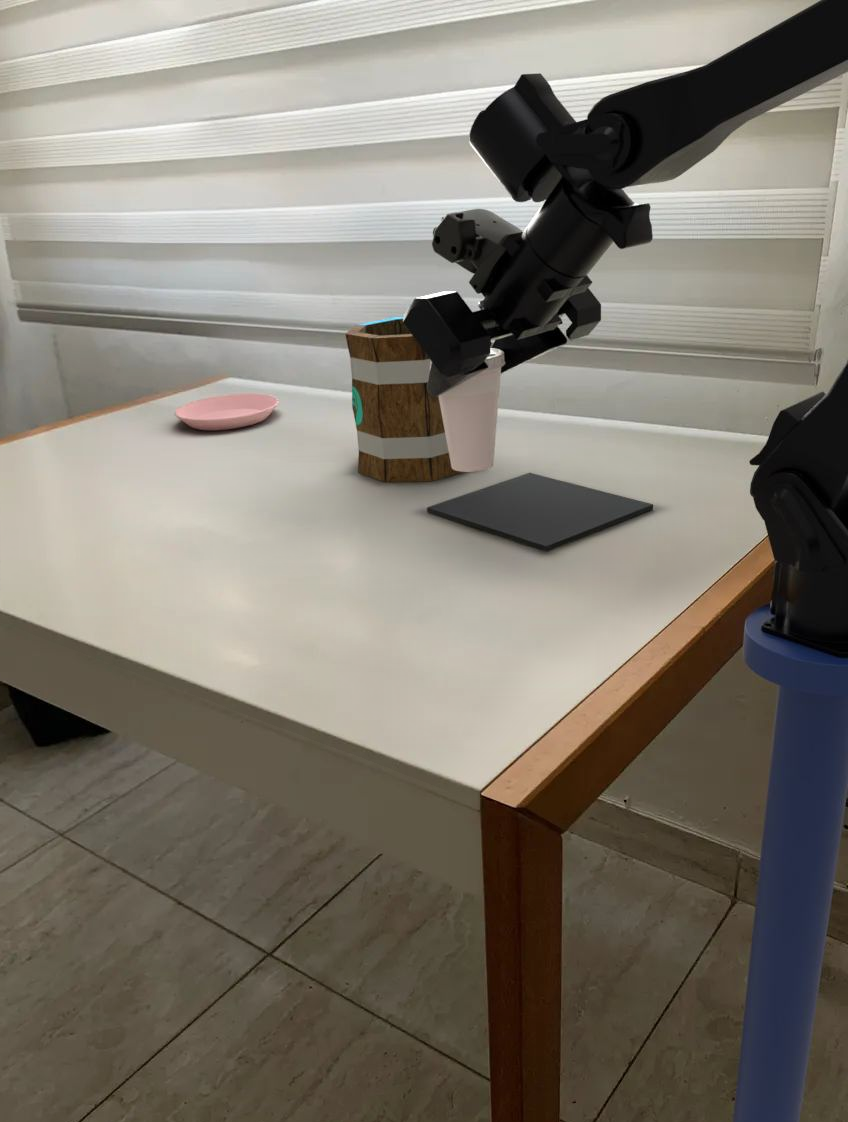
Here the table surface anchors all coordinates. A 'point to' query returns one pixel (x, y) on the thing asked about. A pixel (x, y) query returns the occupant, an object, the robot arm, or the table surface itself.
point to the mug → (395, 405)
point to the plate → (227, 411)
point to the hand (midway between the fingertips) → (457, 385)
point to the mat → (539, 510)
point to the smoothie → (473, 417)
